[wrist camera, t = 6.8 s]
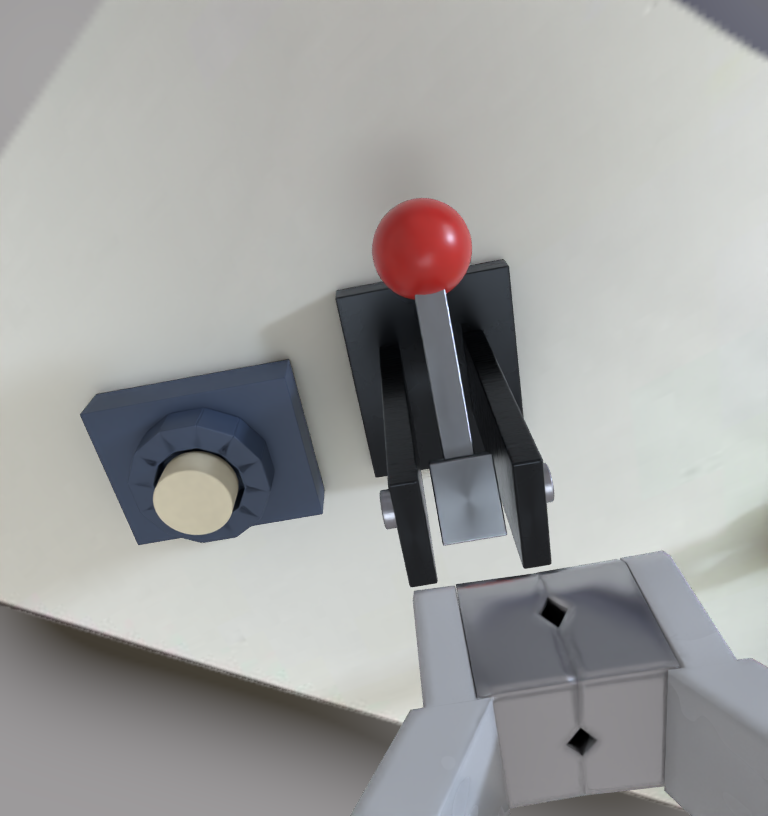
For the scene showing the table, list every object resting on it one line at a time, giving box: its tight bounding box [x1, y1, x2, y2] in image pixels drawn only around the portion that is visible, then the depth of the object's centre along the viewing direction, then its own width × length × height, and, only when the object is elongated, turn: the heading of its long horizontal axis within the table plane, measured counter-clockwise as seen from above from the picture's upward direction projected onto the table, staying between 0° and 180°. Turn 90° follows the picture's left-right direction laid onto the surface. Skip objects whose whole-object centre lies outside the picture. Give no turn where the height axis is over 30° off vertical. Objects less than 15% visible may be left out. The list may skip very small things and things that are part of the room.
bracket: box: [336, 259, 554, 587], centre depth 28 cm, size 10×8×13 cm
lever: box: [372, 198, 507, 545], centre depth 24 cm, size 12×4×4 cm
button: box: [153, 451, 239, 535], centre depth 31 cm, size 4×4×2 cm
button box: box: [80, 359, 325, 545], centre depth 33 cm, size 8×10×4 cm
